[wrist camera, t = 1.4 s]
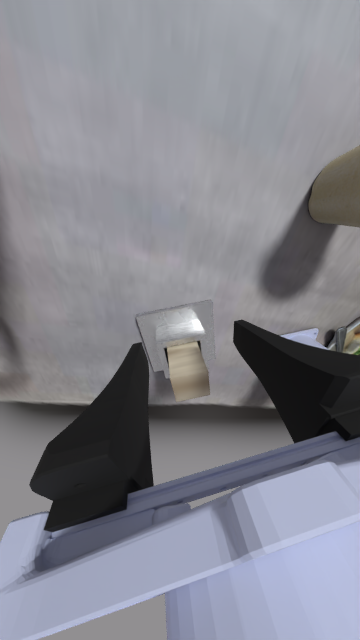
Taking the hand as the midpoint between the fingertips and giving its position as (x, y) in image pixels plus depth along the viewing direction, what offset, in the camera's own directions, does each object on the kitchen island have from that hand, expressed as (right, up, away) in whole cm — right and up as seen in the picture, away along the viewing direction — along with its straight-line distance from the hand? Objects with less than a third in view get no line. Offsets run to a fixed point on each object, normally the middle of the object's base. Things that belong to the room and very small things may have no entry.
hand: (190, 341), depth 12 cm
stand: (-1, -1, +14) cm, 14 cm away
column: (-1, -2, +13) cm, 13 cm away
